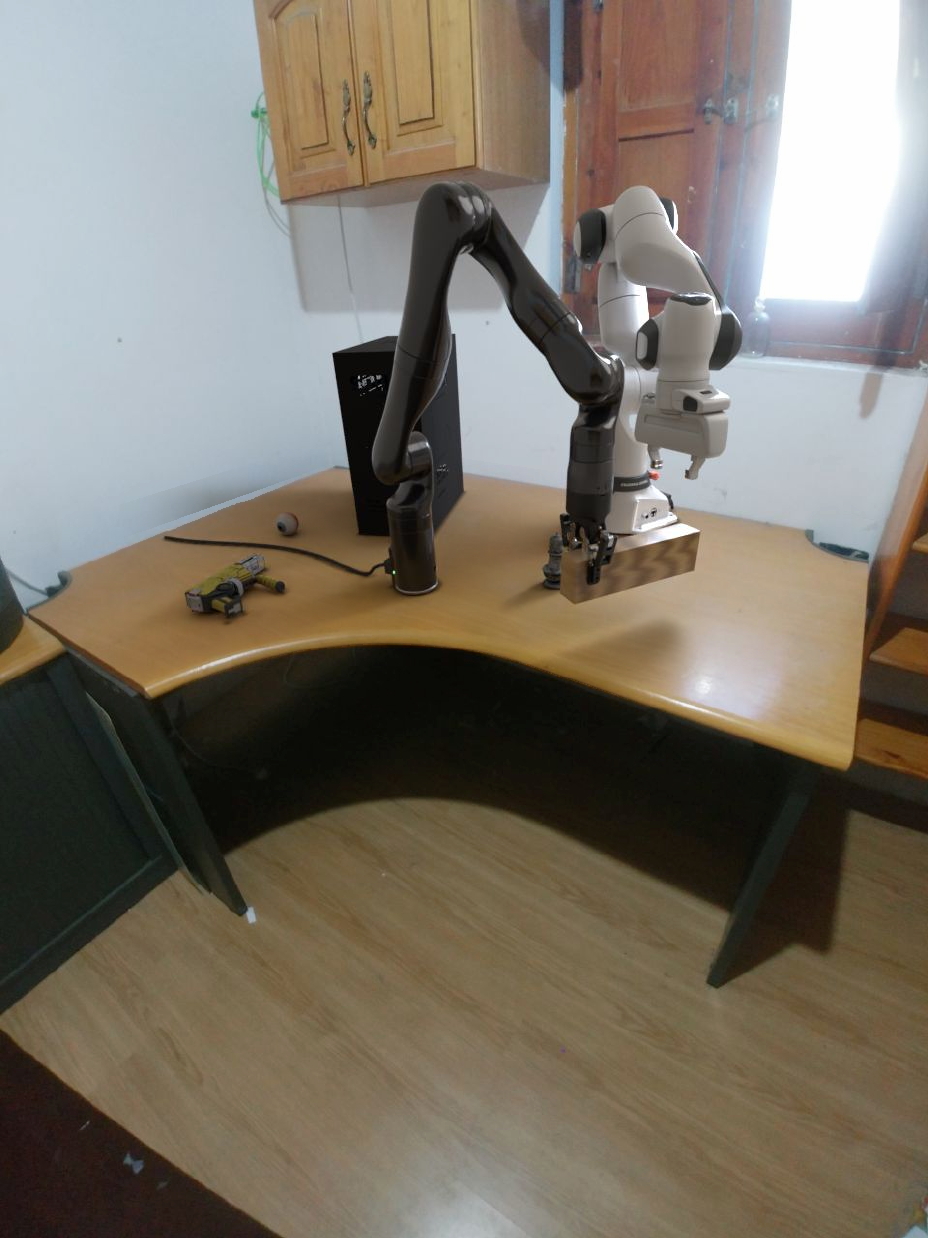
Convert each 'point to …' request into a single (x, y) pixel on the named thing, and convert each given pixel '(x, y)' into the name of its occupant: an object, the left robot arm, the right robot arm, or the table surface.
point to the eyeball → (287, 523)
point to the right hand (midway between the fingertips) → (672, 473)
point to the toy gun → (230, 587)
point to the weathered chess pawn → (554, 562)
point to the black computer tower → (365, 419)
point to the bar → (632, 563)
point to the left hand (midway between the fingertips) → (584, 577)
